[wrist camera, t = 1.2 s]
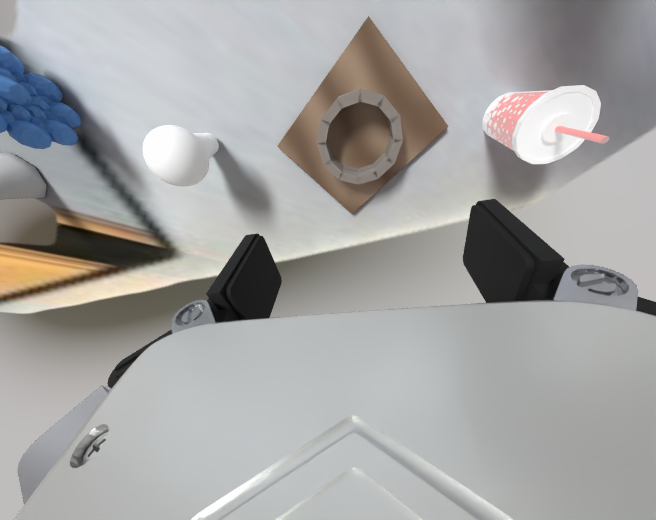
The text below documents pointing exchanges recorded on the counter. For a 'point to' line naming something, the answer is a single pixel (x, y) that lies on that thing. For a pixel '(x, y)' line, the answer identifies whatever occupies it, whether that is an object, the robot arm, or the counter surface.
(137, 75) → the counter surface
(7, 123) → the grapes
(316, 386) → the robot arm
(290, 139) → the coaster board
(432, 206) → the counter surface
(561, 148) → the beverage cup
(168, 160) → the lightbulb
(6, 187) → the flask
